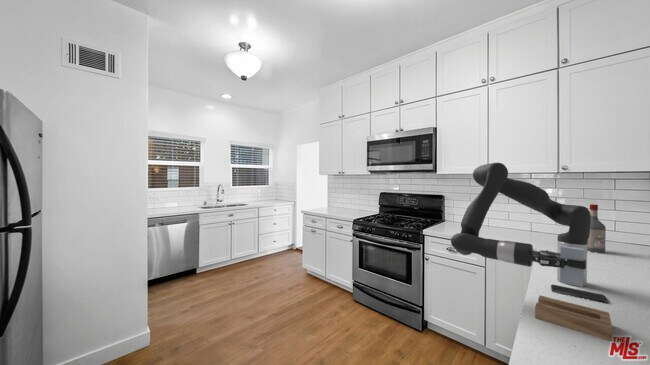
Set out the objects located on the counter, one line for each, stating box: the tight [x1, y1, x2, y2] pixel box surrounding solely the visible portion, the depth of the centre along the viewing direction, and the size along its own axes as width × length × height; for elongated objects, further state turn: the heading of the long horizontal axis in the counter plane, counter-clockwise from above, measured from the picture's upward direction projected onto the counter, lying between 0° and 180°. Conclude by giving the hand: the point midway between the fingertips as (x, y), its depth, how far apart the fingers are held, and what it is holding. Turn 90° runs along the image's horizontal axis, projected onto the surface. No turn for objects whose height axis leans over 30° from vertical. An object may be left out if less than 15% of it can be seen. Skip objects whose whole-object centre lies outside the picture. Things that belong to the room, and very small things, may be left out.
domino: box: [559, 246, 584, 288], centre depth 78 cm, size 2×5×11 cm, turn 45°
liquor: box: [587, 203, 607, 254], centre depth 164 cm, size 9×9×30 cm
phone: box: [550, 284, 609, 304], centre depth 98 cm, size 8×1×15 cm
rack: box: [534, 294, 613, 342], centre depth 78 cm, size 12×16×4 cm
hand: (585, 264), depth 76 cm, fingers closed on domino, 2 cm apart
